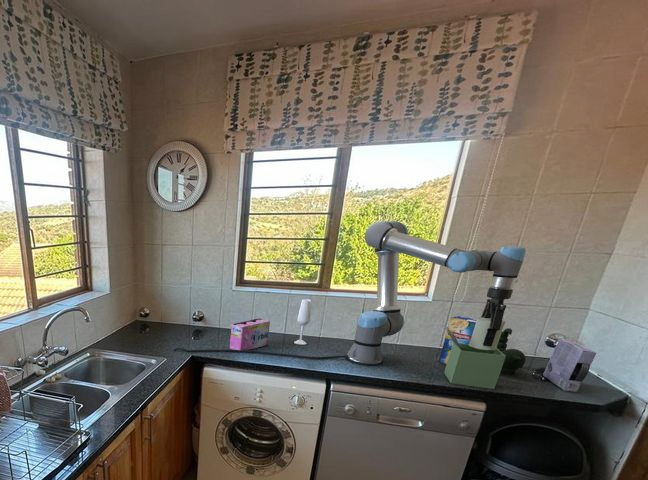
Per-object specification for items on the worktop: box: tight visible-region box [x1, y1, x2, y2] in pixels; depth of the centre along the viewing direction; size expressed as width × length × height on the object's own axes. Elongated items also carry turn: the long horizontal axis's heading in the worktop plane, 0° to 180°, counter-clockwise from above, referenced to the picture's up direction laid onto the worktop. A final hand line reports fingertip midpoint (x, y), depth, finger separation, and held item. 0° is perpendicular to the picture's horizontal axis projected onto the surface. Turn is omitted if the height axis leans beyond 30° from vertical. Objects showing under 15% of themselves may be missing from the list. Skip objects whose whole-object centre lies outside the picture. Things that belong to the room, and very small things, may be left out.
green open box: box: [443, 343, 506, 390], centre depth 171 cm, size 15×13×14 cm
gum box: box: [229, 317, 271, 351], centre depth 215 cm, size 24×8×14 cm, turn 126°
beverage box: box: [438, 315, 477, 365], centre depth 190 cm, size 7×11×22 cm, turn 28°
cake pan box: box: [542, 338, 597, 393], centre depth 167 cm, size 19×5×18 cm, turn 158°
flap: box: [445, 326, 461, 349], centre depth 170 cm, size 7×13×1 cm
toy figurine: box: [497, 327, 527, 375], centre depth 184 cm, size 9×19×25 cm
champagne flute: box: [293, 298, 312, 345], centre depth 220 cm, size 7×7×24 cm
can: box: [469, 317, 506, 350], centre depth 165 cm, size 9×9×12 cm
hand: (483, 342), depth 167 cm, fingers closed on can, 9 cm apart
